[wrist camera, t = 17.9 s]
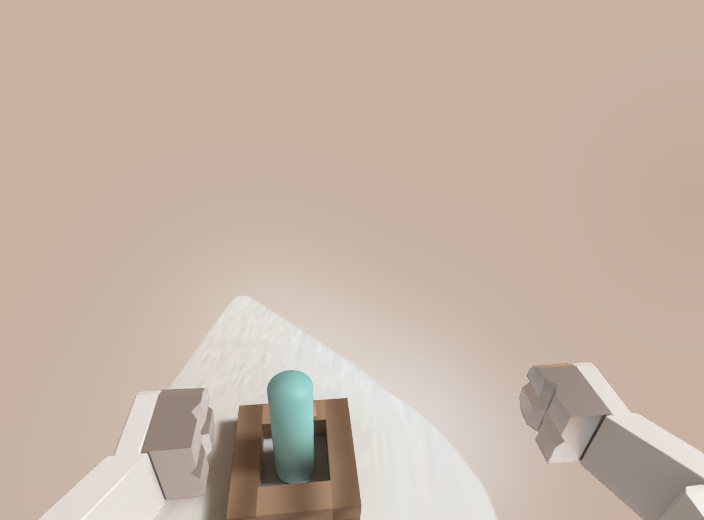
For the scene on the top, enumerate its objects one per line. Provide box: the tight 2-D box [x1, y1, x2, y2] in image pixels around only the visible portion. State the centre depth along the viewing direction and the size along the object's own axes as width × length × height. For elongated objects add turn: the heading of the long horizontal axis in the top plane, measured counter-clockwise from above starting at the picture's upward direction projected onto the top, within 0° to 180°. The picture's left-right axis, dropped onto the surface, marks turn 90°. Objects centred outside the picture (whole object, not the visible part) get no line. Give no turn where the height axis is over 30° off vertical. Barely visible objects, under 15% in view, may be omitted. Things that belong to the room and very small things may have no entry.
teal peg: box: [267, 370, 314, 484], centre depth 42 cm, size 4×4×12 cm
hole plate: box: [226, 398, 361, 520], centre depth 44 cm, size 12×12×3 cm
